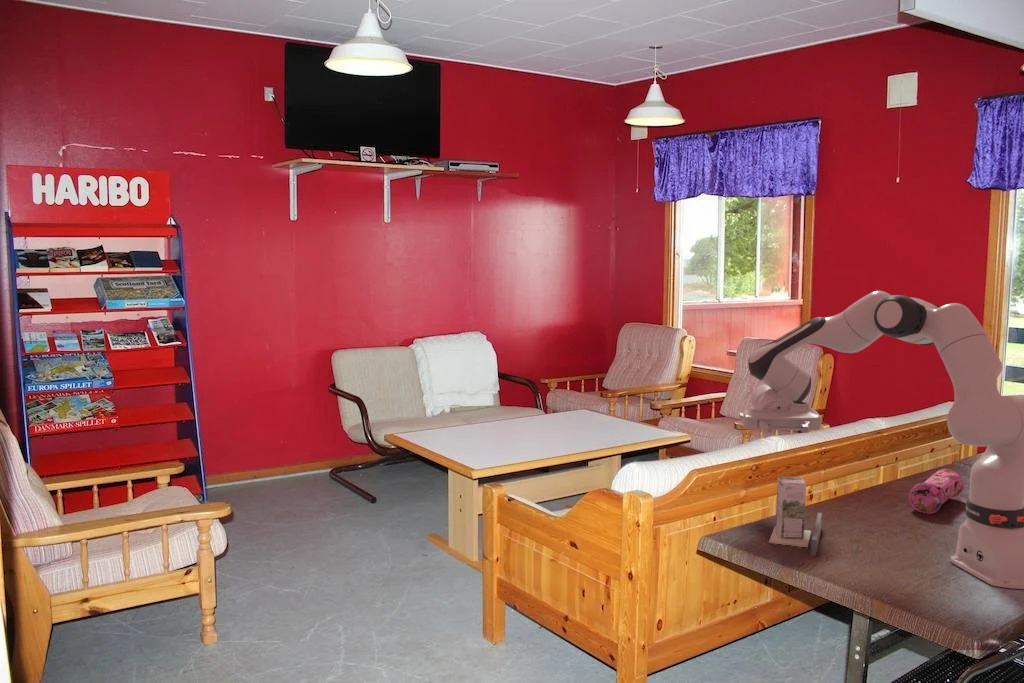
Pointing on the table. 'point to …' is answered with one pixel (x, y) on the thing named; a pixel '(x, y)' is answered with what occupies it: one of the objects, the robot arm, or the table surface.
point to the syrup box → (790, 507)
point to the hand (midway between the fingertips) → (787, 429)
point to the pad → (791, 539)
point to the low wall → (816, 534)
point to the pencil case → (935, 491)
